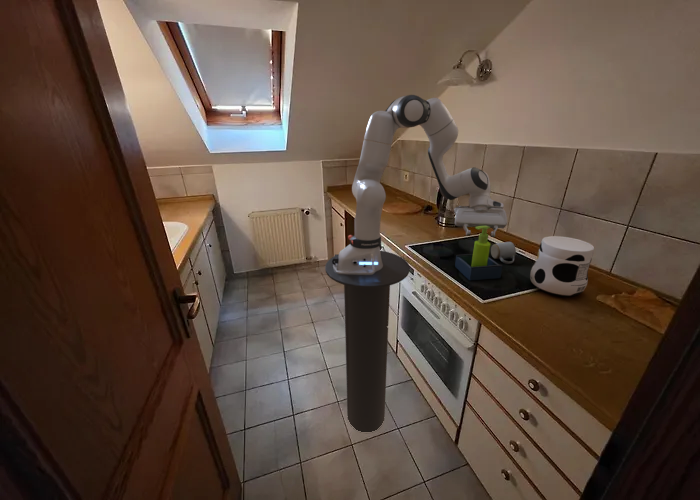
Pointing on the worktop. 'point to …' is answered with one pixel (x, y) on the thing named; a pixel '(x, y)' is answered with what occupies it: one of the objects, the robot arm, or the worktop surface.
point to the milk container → (562, 265)
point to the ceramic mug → (503, 251)
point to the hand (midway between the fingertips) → (480, 235)
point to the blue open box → (477, 268)
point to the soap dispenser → (481, 248)
